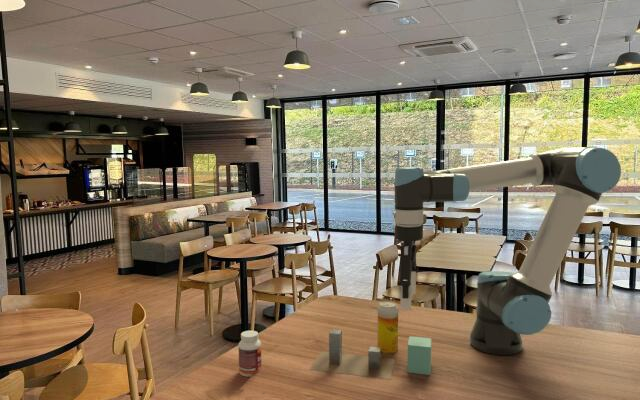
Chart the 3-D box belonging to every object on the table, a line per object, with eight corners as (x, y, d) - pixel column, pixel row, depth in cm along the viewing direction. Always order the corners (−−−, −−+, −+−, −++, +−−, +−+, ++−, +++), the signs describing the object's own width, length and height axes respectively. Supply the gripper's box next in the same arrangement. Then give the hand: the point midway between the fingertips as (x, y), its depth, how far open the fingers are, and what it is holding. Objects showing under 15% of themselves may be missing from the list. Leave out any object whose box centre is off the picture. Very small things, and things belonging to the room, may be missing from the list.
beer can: (397, 357, 138) (397, 308, 136) (376, 355, 139) (376, 306, 137) (398, 348, 144) (398, 301, 142) (378, 347, 145) (378, 300, 143)
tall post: (341, 360, 133) (341, 330, 132) (339, 365, 130) (339, 334, 129) (331, 359, 134) (331, 329, 133) (329, 364, 131) (329, 333, 130)
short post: (380, 364, 130) (380, 347, 130) (379, 369, 128) (379, 352, 127) (369, 363, 131) (370, 346, 131) (368, 368, 128) (368, 351, 128)
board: (394, 363, 134) (395, 359, 134) (390, 383, 123) (390, 379, 122) (320, 355, 140) (320, 351, 140) (309, 373, 128) (309, 369, 128)
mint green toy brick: (430, 368, 131) (431, 338, 130) (430, 379, 125) (430, 347, 124) (408, 366, 132) (409, 336, 131) (407, 376, 126) (407, 345, 125)
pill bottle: (262, 376, 127) (262, 337, 126) (239, 378, 126) (238, 339, 124) (260, 365, 133) (259, 328, 132) (238, 368, 132) (237, 330, 130)
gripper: (400, 217, 139) (400, 287, 141) (388, 232, 115) (388, 315, 118) (426, 218, 137) (425, 288, 139) (419, 233, 113) (418, 318, 116)
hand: (408, 301), depth 129 cm, fingers open, 13 cm apart
